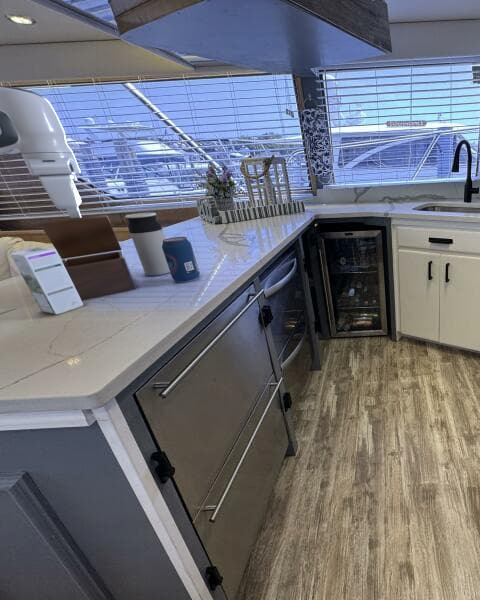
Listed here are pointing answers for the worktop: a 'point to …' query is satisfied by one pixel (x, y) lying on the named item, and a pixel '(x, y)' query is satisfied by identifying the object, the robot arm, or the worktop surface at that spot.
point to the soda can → (180, 259)
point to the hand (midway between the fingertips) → (79, 224)
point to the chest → (99, 274)
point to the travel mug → (148, 242)
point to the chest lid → (81, 236)
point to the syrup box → (47, 280)
